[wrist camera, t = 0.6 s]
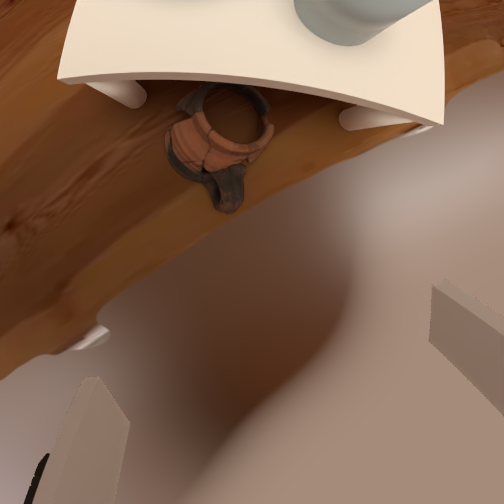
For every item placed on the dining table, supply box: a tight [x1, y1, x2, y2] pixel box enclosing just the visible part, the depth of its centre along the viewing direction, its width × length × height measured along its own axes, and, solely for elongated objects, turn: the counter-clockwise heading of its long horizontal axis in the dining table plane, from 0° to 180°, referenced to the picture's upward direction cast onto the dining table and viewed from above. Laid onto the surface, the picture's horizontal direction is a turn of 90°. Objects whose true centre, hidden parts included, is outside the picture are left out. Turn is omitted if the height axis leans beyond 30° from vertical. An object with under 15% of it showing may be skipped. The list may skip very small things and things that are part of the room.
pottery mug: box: [165, 81, 274, 214], centre depth 27 cm, size 12×10×8 cm
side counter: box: [57, 0, 444, 131], centre depth 20 cm, size 25×14×14 cm, turn 84°
